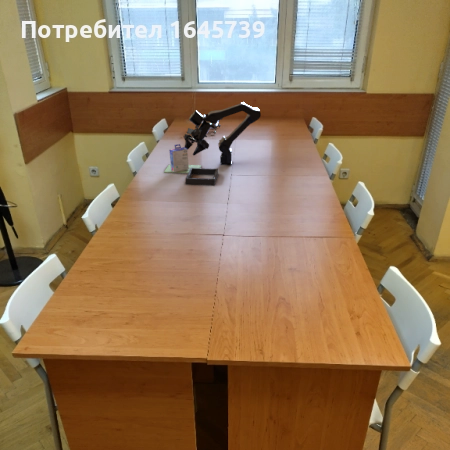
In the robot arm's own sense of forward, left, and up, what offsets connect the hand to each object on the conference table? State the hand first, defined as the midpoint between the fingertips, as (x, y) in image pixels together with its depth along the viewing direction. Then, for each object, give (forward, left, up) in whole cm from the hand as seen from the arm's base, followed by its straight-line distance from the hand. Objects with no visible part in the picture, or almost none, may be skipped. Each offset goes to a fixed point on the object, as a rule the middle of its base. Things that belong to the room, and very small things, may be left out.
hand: (188, 153), depth 266 cm
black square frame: (-10, +18, -9) cm, 23 cm away
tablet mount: (+6, -93, -1) cm, 93 cm away
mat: (+4, +2, -9) cm, 10 cm away
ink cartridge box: (+5, +5, -9) cm, 11 cm away
